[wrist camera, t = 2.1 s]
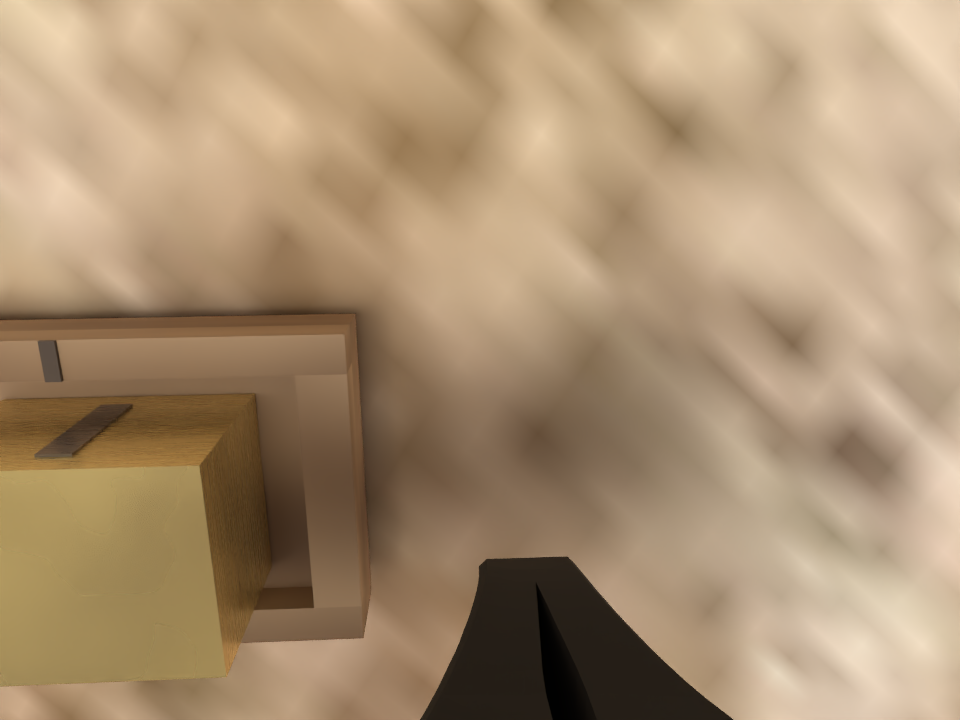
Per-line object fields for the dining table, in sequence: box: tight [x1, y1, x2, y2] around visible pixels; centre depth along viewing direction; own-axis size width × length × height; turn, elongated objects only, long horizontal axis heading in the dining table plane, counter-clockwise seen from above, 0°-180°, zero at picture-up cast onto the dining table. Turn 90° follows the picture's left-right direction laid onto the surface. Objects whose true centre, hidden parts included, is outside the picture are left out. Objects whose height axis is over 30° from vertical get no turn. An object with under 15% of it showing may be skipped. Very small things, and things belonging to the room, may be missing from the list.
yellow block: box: [0, 394, 272, 686], centre depth 13 cm, size 4×5×4 cm
